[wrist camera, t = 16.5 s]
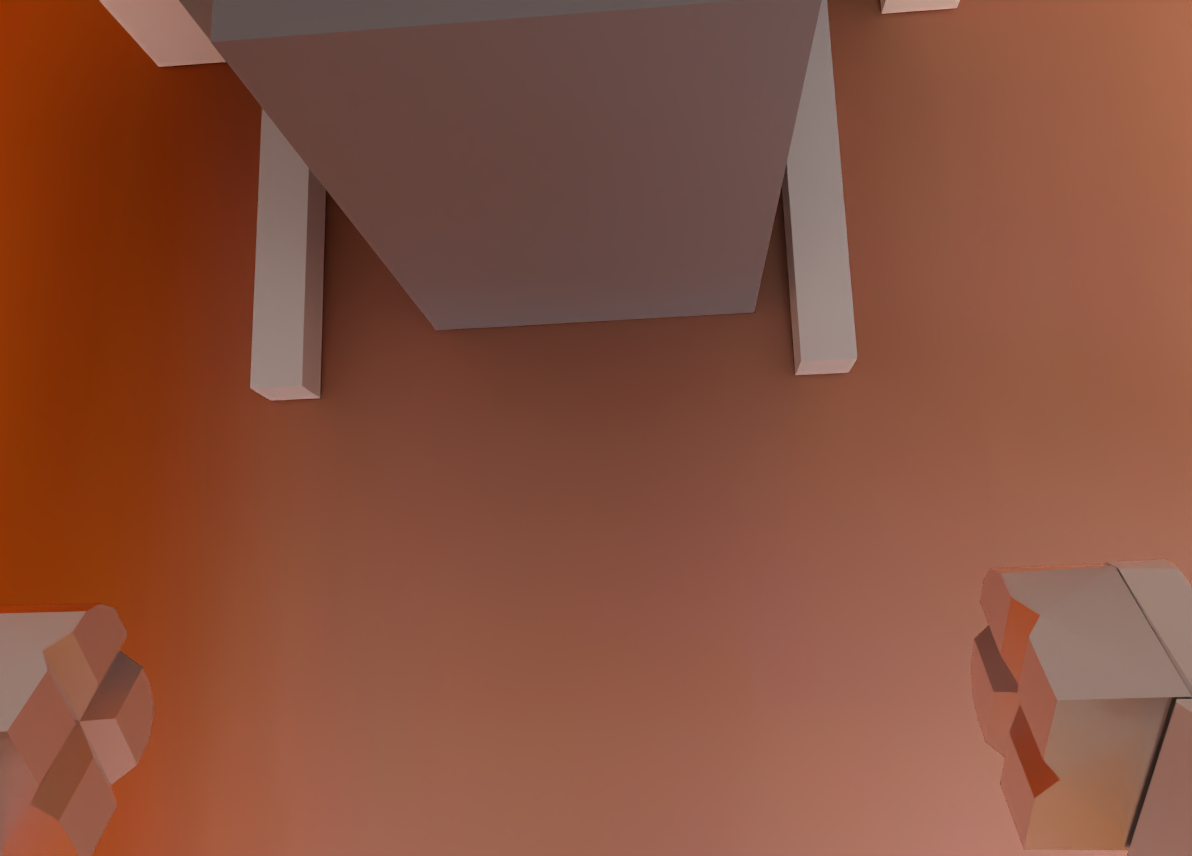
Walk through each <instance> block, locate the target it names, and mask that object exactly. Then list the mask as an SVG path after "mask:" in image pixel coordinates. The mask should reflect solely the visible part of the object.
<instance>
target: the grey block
mask: <svg viewBox="0 0 1192 856" xmlns="http://www.w3.org/2000/svg"><path fill="white" fill-rule="evenodd" d="M821 1H822V0H213V6H212V26H211V43H212V44H213V46H214V47H215V48H216V50H217V51H218V52H219V53H220V55H221V56H222V57H223V59H224V60H225V61H226V62H227V64H228V65H229V66H230V68H231V69H232V70H233V71H234V73H235V74H236V75H237V76H238V78H239V79H240V80H241V82H242V83H243V84H244V85H245V87H246V88H247V89H248V91H249V92H250V93H251V94H252V96H253V97H254V98H255V100H256V101H257V102H258V103H259V105H260V106H261V107H262V108H263V110H264V111H265V112H266V114H267V115H268V116H269V117H270V119H271V120H272V121H273V123H274V124H275V125H276V126H277V128H278V129H279V130H280V132H281V133H282V134H283V135H284V137H285V138H286V139H287V140H288V142H289V143H290V144H291V146H292V147H293V148H294V149H295V151H296V152H297V153H298V155H299V156H300V157H301V158H302V160H303V161H304V162H305V164H306V165H307V166H308V167H309V169H310V170H311V171H312V172H313V174H314V175H315V176H316V178H317V179H318V180H319V181H320V183H321V184H322V185H323V187H324V188H325V189H326V190H327V192H328V193H329V194H330V196H331V197H332V198H333V199H334V201H335V202H336V203H337V204H338V206H339V207H340V208H341V210H342V211H343V212H344V213H345V215H346V216H347V217H348V219H349V220H350V221H351V222H352V224H353V225H354V226H355V228H356V229H357V230H358V231H359V233H360V234H361V235H362V236H363V238H364V239H365V240H366V242H367V243H368V244H369V245H370V247H371V248H372V249H373V251H374V252H375V253H376V254H377V256H378V257H379V258H380V260H381V261H382V262H383V263H384V265H385V266H386V267H387V268H388V270H389V271H390V272H391V274H392V275H393V276H394V277H395V279H396V280H397V281H398V283H399V284H400V285H401V286H402V288H403V289H404V290H405V292H406V293H407V294H408V295H409V297H410V298H411V299H412V300H413V302H414V303H415V304H416V306H417V307H418V308H419V309H420V311H421V312H422V313H423V315H424V316H425V317H426V318H427V320H428V321H429V322H430V324H431V325H432V326H433V327H434V329H435V330H453V329H471V328H488V327H506V326H524V325H542V324H559V323H577V322H595V321H613V320H630V319H648V318H666V317H684V316H701V315H719V314H737V313H754V312H755V307H756V303H757V298H758V293H759V289H760V284H761V279H762V275H763V270H764V266H765V261H766V256H767V252H768V247H769V242H770V238H771V233H772V228H773V224H774V219H775V214H776V210H777V205H778V201H779V196H780V191H781V187H782V182H783V177H784V173H785V168H786V163H787V159H788V154H789V150H790V145H791V140H792V136H793V131H794V126H795V122H796V117H797V112H798V108H799V103H800V98H801V94H802V89H803V85H804V80H805V75H806V71H807V66H808V61H809V57H810V52H811V47H812V43H813V38H814V34H815V29H816V24H817V20H818V15H819V10H820V6H821Z"/></svg>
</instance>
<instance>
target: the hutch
mask: <svg viewBox="0 0 1192 856" xmlns="http://www.w3.org/2000/svg"><path fill="white" fill-rule="evenodd" d="M99 1H100V2H101V3H102V4H103V6H104V7H105V8H106V9H107V10H108V11H109V12H110V13H111V14H112V16H113V17H114V18H115V19H116V20H117V21H118V22H119V23H120V24H121V25H122V27H123V28H124V29H125V30H126V31H127V32H128V33H129V34H130V35H131V37H132V38H133V39H134V40H135V41H136V42H137V43H138V44H139V45H140V47H141V48H142V49H143V50H144V51H145V52H146V53H147V54H148V55H149V56H150V58H151V59H152V60H153V61H154V62H155V63H156V64H157V65H158V66H159V67H164V66H178V65H191V64H205V63H218V62H226V61H225V60H224V59H223V57H222V56H221V55H220V53H219V52H218V51H217V50H216V48H215V47H214V46H213V44H212V43H211V26H212V6H213V0H99ZM959 2H960V0H880V3H881V13H882V14H885V13H898V12H912V11H926V10H939V9H953V8H957V7H958V4H959ZM782 195H783V209H784V223H785V237H786V251H787V265H788V279H789V293H790V307H791V321H792V335H793V349H794V363H795V375H811V374H831V373H849V371H850V370H851V368H852V366H853V365H854V363H855V361H856V360H857V347H856V336H855V324H854V312H853V300H852V288H851V277H850V265H849V253H848V241H847V229H846V218H845V206H844V194H843V182H842V170H841V159H840V147H839V135H838V123H837V111H836V100H835V88H834V76H833V64H832V52H831V41H830V29H829V17H828V5H827V0H822V1H821V6H820V10H819V15H818V20H817V24H816V29H815V34H814V38H813V43H812V47H811V52H810V57H809V61H808V66H807V71H806V75H805V80H804V85H803V89H802V94H801V98H800V103H799V108H798V112H797V117H796V122H795V126H794V131H793V136H792V140H791V145H790V150H789V154H788V159H787V163H786V168H785V173H784V177H783V182H782ZM325 207H326V189H325V188H324V187H323V185H322V184H321V183H320V181H319V180H318V179H317V178H316V176H315V175H314V174H313V172H312V171H311V170H310V169H309V167H308V166H307V165H306V164H305V162H304V161H303V160H302V158H301V157H300V156H299V155H298V153H297V152H296V151H295V149H294V148H293V147H292V146H291V144H290V143H289V142H288V140H287V139H286V138H285V137H284V135H283V134H282V133H281V132H280V130H279V129H278V128H277V126H276V125H275V124H274V123H273V121H272V120H271V119H270V117H269V116H268V115H267V114H266V112H265V111H264V110H263V108H262V118H261V142H260V165H259V189H258V213H257V236H256V260H255V284H254V307H253V331H252V354H251V378H250V389H252V390H254V391H255V392H257V393H259V394H260V395H262V396H264V397H265V398H267V399H269V400H271V401H273V400H294V399H315V398H320V387H321V351H322V315H323V279H324V243H325Z"/></svg>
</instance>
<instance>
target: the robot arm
mask: <svg viewBox="0 0 1192 856" xmlns="http://www.w3.org/2000/svg"><path fill="white" fill-rule="evenodd" d="M980 604H981V606H982V609H983V611H984V614H985V617H986V619H987V622H988V624H989V625H988V626H987V627H986V628H985V629H984V630H983V631H982V632H981V633H980V634H979V635H978V636H977V637H976V638H975V639H974V645H973V653H972V662H971V675H972V692H973V699H974V704H975V709H976V713H977V718H978V721H979V724H980V727H981V730H982V733H983V736H984V739H985V742H986V743H987V744H989V745H990V746H991V747H992V748H994V749H995V750H996V751H997V752H999V753H1000V754H1001V755H1002V756H1004V757H1005V759H1004V764H1003V770H1002V776H1001V781H1000V785H1001V788H1002V791H1003V793H1004V796H1005V799H1006V802H1007V804H1008V807H1009V810H1010V813H1011V816H1012V818H1013V821H1014V824H1015V827H1016V829H1017V832H1018V835H1019V838H1020V841H1021V843H1022V846H1023V849H1024V850H1129V851H1128V854H1127V855H1128V856H1192V587H1191V585H1190V584H1189V583H1188V581H1187V580H1186V578H1185V577H1184V575H1183V574H1182V572H1181V571H1180V569H1179V568H1178V566H1177V565H1175V564H1173V563H1172V562H1170V561H1169V560H1167V559H1154V560H1136V561H1119V562H1107V563H1105V564H1077V565H1056V566H1034V567H1012V568H991V569H989V571H988V573H987V575H986V577H985V579H984V581H983V587H982V593H981V599H980ZM127 634H128V633H127V631H126V629H125V627H124V625H123V623H122V621H121V619H120V617H119V616H118V614H117V612H116V610H115V608H113V607H109V606H106V605H103V604H36V605H2V606H0V856H91V855H92V853H93V851H94V850H95V848H96V846H97V844H98V842H99V840H100V838H101V836H102V834H103V832H104V830H105V828H106V826H107V824H108V822H109V820H110V818H111V816H112V814H113V812H114V810H115V808H116V806H117V802H116V799H115V795H114V792H113V788H112V784H113V783H115V782H116V781H117V780H118V779H120V778H121V777H122V776H123V775H125V774H126V773H127V772H129V771H130V770H131V769H132V768H134V767H135V766H136V765H137V764H138V762H139V760H140V758H141V756H142V754H143V751H144V749H145V747H146V745H147V743H148V741H149V738H150V732H151V725H152V719H153V713H154V704H153V697H152V690H151V685H150V683H149V680H148V678H147V676H146V673H145V671H144V669H143V667H142V666H140V665H139V664H138V663H136V662H135V661H133V660H132V659H131V658H129V657H128V656H127V655H125V654H124V653H122V652H121V651H120V649H121V647H122V645H123V643H124V641H125V639H126V636H127Z"/></svg>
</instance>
